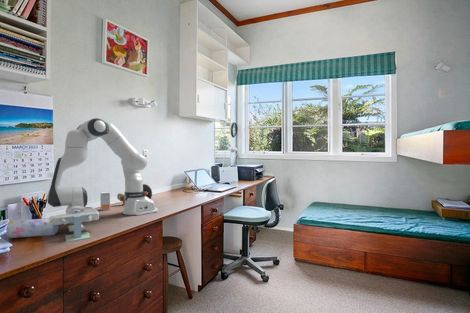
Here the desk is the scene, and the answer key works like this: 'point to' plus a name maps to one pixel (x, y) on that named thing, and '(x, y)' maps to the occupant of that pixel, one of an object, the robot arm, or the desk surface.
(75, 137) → the robot arm
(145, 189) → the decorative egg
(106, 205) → the skincare box
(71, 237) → the green mat
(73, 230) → the slot box
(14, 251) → the desk surface
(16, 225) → the pencil case
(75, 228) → the blue cover plate
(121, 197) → the lion figurine
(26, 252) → the desk surface
